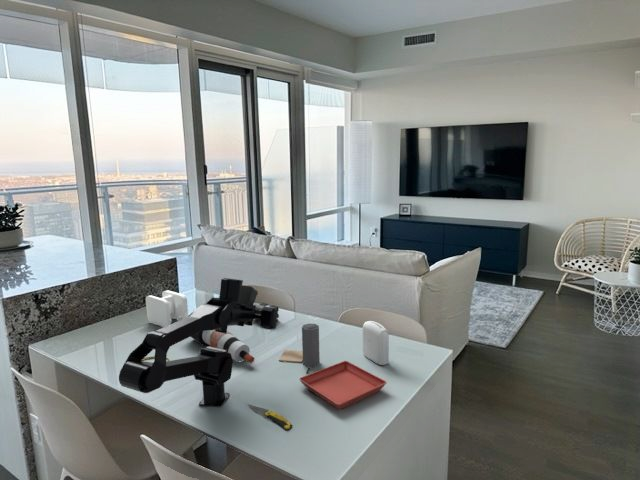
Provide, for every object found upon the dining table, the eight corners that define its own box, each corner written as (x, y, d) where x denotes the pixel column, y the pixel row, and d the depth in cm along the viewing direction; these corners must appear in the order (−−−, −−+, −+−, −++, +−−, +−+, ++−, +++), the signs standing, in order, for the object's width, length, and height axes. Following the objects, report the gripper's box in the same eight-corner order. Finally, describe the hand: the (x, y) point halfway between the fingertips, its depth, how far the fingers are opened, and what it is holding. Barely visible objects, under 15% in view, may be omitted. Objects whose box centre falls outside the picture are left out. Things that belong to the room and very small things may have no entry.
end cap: (249, 321, 179) (248, 305, 178) (262, 316, 184) (261, 300, 183) (267, 326, 173) (266, 310, 172) (279, 321, 178) (279, 305, 177)
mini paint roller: (310, 373, 135) (310, 361, 134) (303, 373, 135) (303, 360, 134) (315, 362, 142) (315, 350, 141) (308, 361, 142) (308, 350, 142)
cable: (246, 381, 140) (234, 361, 134) (191, 341, 162) (179, 322, 157) (268, 359, 145) (257, 338, 139) (212, 323, 167) (201, 304, 162)
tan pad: (301, 362, 142) (301, 361, 142) (278, 361, 143) (278, 360, 143) (306, 352, 149) (306, 351, 149) (284, 351, 150) (284, 350, 150)
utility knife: (242, 405, 117) (251, 400, 119) (243, 409, 117) (251, 404, 119) (287, 428, 106) (295, 422, 109) (287, 432, 107) (295, 426, 109)
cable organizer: (146, 322, 180) (143, 295, 178) (168, 314, 188) (166, 288, 186) (167, 330, 171) (165, 301, 169) (190, 322, 179) (188, 294, 177)
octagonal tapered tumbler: (317, 367, 138) (316, 330, 136) (301, 366, 139) (300, 329, 137) (320, 360, 143) (319, 324, 141) (305, 359, 144) (304, 323, 142)
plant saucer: (298, 388, 127) (297, 377, 126) (345, 369, 138) (345, 359, 137) (338, 416, 113) (338, 404, 112) (388, 393, 123) (388, 382, 123)
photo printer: (360, 354, 147) (360, 319, 144) (371, 351, 149) (371, 316, 146) (379, 367, 138) (379, 329, 136) (390, 363, 140) (391, 326, 138)
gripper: (265, 290, 123) (292, 292, 137) (212, 283, 131) (243, 285, 145) (260, 331, 122) (288, 328, 136) (207, 321, 130) (238, 319, 144)
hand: (264, 314), depth 140 cm, fingers open, 9 cm apart
